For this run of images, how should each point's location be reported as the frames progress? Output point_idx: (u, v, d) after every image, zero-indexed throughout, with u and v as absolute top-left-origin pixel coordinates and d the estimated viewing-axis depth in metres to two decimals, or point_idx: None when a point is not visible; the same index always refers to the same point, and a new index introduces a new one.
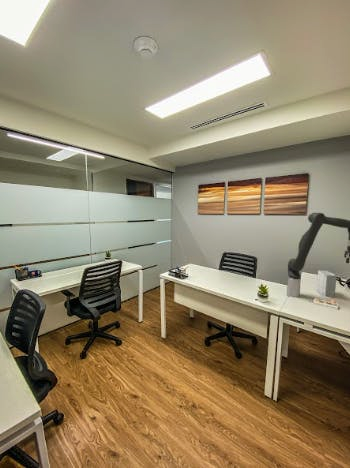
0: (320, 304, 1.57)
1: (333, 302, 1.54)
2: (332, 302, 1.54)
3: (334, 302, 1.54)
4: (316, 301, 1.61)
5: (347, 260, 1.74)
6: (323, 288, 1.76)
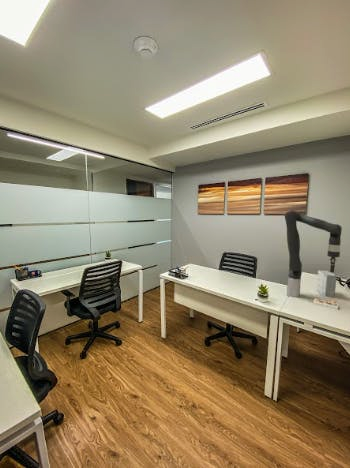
0: (320, 304, 1.57)
1: (333, 302, 1.54)
2: (332, 302, 1.54)
3: (334, 302, 1.54)
4: (316, 301, 1.61)
5: None
6: (323, 288, 1.76)
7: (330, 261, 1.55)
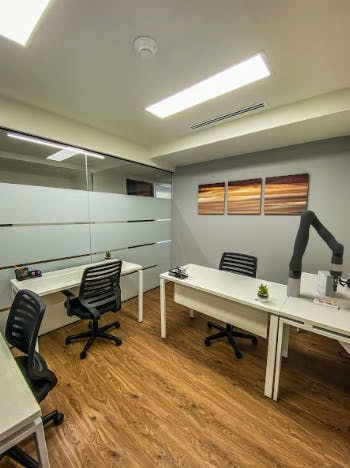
0: (320, 304, 1.57)
1: (333, 302, 1.54)
2: (332, 302, 1.54)
3: (334, 302, 1.54)
4: (316, 301, 1.61)
5: None
6: (323, 288, 1.76)
7: (333, 280, 1.55)
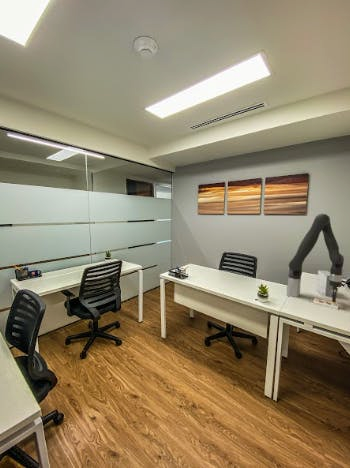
0: (320, 304, 1.57)
1: (333, 303, 1.54)
2: (332, 303, 1.55)
3: (334, 303, 1.54)
4: (316, 301, 1.61)
5: None
6: (323, 288, 1.76)
7: (332, 290, 1.56)
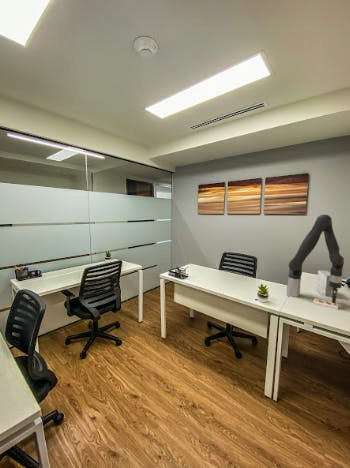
0: (320, 304, 1.57)
1: (333, 304, 1.54)
2: (332, 304, 1.55)
3: (334, 304, 1.54)
4: (316, 301, 1.61)
5: None
6: (323, 288, 1.76)
7: (332, 291, 1.56)
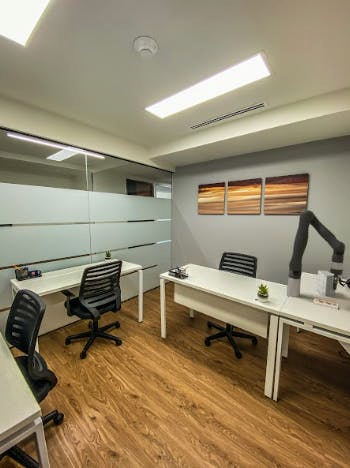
0: (320, 304, 1.57)
1: (333, 304, 1.54)
2: (332, 304, 1.55)
3: (334, 304, 1.54)
4: (316, 301, 1.61)
5: None
6: (323, 288, 1.76)
7: (333, 278, 1.55)
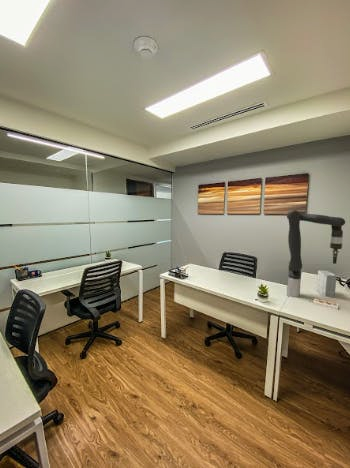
0: (320, 304, 1.57)
1: (333, 304, 1.54)
2: (332, 304, 1.55)
3: (334, 304, 1.54)
4: (316, 301, 1.61)
5: None
6: (323, 288, 1.76)
7: (333, 253, 1.61)
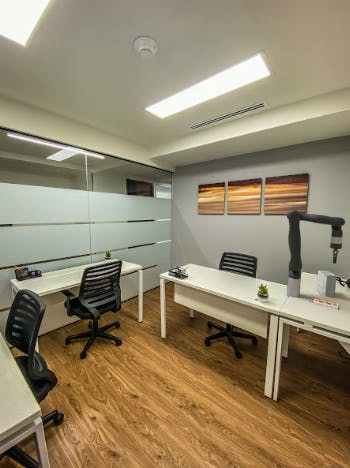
0: (320, 304, 1.57)
1: (333, 304, 1.54)
2: (332, 304, 1.55)
3: (334, 304, 1.54)
4: (316, 301, 1.61)
5: None
6: (323, 288, 1.76)
7: (333, 253, 1.61)
